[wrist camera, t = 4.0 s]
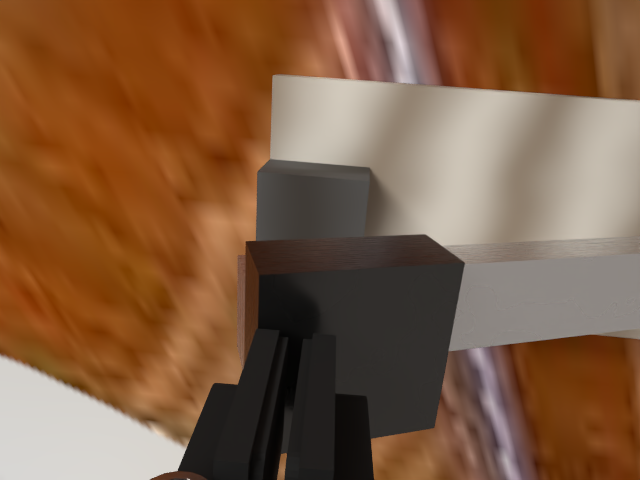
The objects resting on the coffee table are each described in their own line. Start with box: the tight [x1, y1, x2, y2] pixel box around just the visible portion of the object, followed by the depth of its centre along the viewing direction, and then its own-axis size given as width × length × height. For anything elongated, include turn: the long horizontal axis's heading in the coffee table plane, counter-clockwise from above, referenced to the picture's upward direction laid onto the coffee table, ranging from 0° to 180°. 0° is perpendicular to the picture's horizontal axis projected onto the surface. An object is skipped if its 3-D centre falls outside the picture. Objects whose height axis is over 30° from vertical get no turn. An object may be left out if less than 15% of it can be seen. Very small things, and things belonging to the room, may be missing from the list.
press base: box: [256, 74, 640, 339], centre depth 22 cm, size 26×12×8 cm, turn 86°
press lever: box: [237, 234, 640, 454], centre depth 16 cm, size 22×5×4 cm, turn 87°
